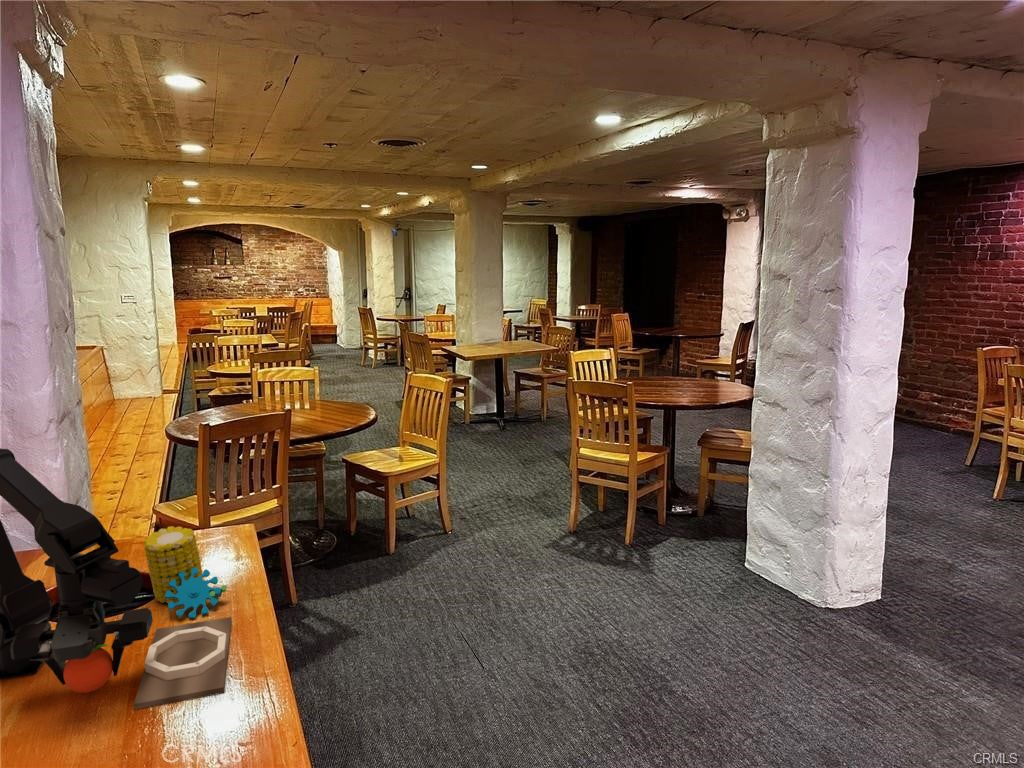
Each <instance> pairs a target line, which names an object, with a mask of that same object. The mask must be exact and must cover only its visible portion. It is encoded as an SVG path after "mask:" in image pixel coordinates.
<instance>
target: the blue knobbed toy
mask: <svg viewBox="0 0 1024 768" xmlns="http://www.w3.org/2000/svg"><path fill="white" fill-rule="evenodd" d="M197 573H198V569H197V568H192V569H191V576H190V578H189V579H188V580H184V577H185V576H186V572H185V571H183V572H180V573H179V575H178V576H179V578H180V579H181V581H182V585H181V586H177V585H176V580H174V579H173V580H171V581H170V582H169V586H170V587H173V588H175V589H176V590H177V592H178V593H177V594H176V595H174V594H172V592H171V591H167V592H166V594H165V598H167V599H168V598H176V599H178V600H179V602H178V603H175V602H169V603H167V607H168V610H169V611H172V610H173V609H175V608H176V607H181V606H183V607H184V608H182V609H178V610H176V612H175V614H176V616H177V617H179V618H182V617H183V616H184V615H185V612H186V611H187V610H189V609H191V608H192V609H193V610H192V611H190V612H189V613H188V618H189V619H192V620H194V619H196V617H197V610H198V608H199V607H200V606H201V607H202V609H201V615H204V616H205V615H207V614H209V611H210V609H209V608H208V607H207V605H206V601H207V600H209V601H210V606H212V607H215V606H217V604H218V602H219V599H220V598H221V596H222V594H223V593H225V592H226V591H227V588H228V587H227V585H225V584H222V585H221V587H220V586H218V587H217V586H216V587H211V586H210V585H209V584H212V585H218V582H219V579H218V577H217V576H213V577H212V578H210V579H209V580H205V579H204V578H207V577H210V575H211V572H210V570H208V569H207V568H205V569H204V570H203V571H202V575H201V576H200V577H198V578H194V577H193V576H194V575H196V574H197ZM202 578H203V579H204V580H202Z"/></svg>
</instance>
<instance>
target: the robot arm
mask: <svg viewBox="0 0 1024 768" xmlns="http://www.w3.org/2000/svg"><path fill="white" fill-rule="evenodd" d="M0 497H1V498H2V499H3V500H5V501H6V502H7V503H8V504H9V505H10V506H11V507H12V508H14V510H15V511H17V512H18V513H19V514H20V515H21V516H22V517H23V518H24V519H26V520H27V521H28V522H29V523H30V524H31V526H32V527H33V529H34V540H35V542H36V543H37V544H38V546H39V547H40V548H41V549H42V551H43V552H44V553H45V555H46V556H47V557H48V558H47V559H46V560H44V562H43V563H44V566H46V567H50V568H53V569H54V575H55V584H56V590H57V598H58V604H59V606H58V609H57V621H56V625H55V629H52V624H51V623H50V619H51V618H50V617H51V613H52V612H51V611H52V606H53V605H52V598H51V597H50V596H49V594H48V591H47V590H46V585H45V582H44V581H43V580H41V579H37V580H34V579H32V578H30V576H28V575H25V574H24V571H23V570H22V566H21V565H20V562H19V559H18V557H17V555H16V552H15V551H14V548H13V545H12V543H11V541H10V539H9V537H8V534H7V531H6V529H5V527H4V524H3V522H2V519H1V518H0V681H1V680H8V679H14V678H19V677H21V678H22V677H26V676H32V675H36V674H37V673H38V672H39V669H40V668H41V666H42V664H44V663H45V664H46V666H47V667H48V668H49V669H50V670H51V672H53V673H54V675H55V677H56V678H57V679H58V680H59V682H60V683H61V685H62V686H64V685H66V684H65V681H64V677H63V672H64V668H65V665H66V663H67V661H68V660H72V659H83V658H86V657H88V656H89V655H90V654H91V652H92V649H95V648H96V647H97V646H98V645H103V644H106V639H107V636H108V635H111V634H114V635H113V636H114V638H113V641H112V644H111V646H110V647H111V650H112V660H113V671H112V674H113V677H116V676H117V675H118V673H119V669H120V666H121V662H122V658H123V654H124V650H125V648H126V647H128V646H131V645H132V644H133V643H134V642H136V641H142V640H143V641H144V639H146V638H149V637H148V636H149V634H150V630H151V627H152V625H153V621H154V620H153V612H152V610H150V609H149V608H148V607H143V608H138V609H137V608H136V609H129V610H125V611H124V612H123V614H122V617H121V618H118V619H117V620H111V621H105V616H106V612H105V611H106V609H104V606H103V605H104V604H103V603H106V604H111V605H114V606H119V607H123V606H127V605H129V604H131V603H132V602H133V601H135V599H136V598H137V597H138V595H139V594H140V592H141V589H142V586H143V576H142V574H141V572H140V571H139V569H137V568H135V567H132V566H130V562H129V560H127V559H124V558H123V559H121V558H120V559H117V558H111V556H113V555H115V554H117V553H119V548H118V547H117V545H116V544H115V539H114V538H113V537H112V536H111V535H110V534H109V532H108V531H107V530H106V528H105V527H104V526H103V524H102V522H101V520H99V518H98V517H96V515H94V514H93V513H92V512H90V511H88V510H87V509H85V508H84V507H82V506H81V505H77V504H75V503H74V504H73V503H69V502H66V501H65V502H64V501H63V500H61V499H60V498H58V497H57V496H56V495H55V494H54V493H53V492H52V491H51V490H49V488H47V487H46V486H45V485H44V484H43V483H42V482H41V481H39V480H38V478H36V477H35V476H34V475H33V474H31V472H29V470H27V469H26V468H25V467H24V466H23V465H21V464H20V463H19V461H17V460H16V457H15V454H14V452H12V451H11V450H10V449H8V448H0ZM96 545H97V546H99V547H97V548H95V549H92V550H90V551H88V552H86V553H85V554H84V553H83V552H84V551H86V550H88V549H90V548H93V547H95V546H96Z"/></svg>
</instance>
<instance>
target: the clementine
mask: <svg viewBox="0 0 1024 768" xmlns="http://www.w3.org/2000/svg"><path fill="white" fill-rule="evenodd" d="M111 646H112V644H107V643H104V644H103V645H98V646H97V647H96V648H95V649H92V652H91V654H90V655H89V656H88V657H86V658H83V659H72V660H66V665H65V668H64V672H63V677H64V681H65V685H66V686H67V687H68V688H69V689H70V690H71V691H73V692H76V693H81V694H86V693H92V692H94V691H96V690H98V689H99V688H101V687H103V686H104V685H105V684H106V683H107V682H108V680H109V679H110V678H111V677H112V674H113V656H112V655H111V654H110V653H109V651H108V650H106V649H104V648H103V647H111Z"/></svg>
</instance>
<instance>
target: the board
mask: <svg viewBox="0 0 1024 768" xmlns="http://www.w3.org/2000/svg"><path fill="white" fill-rule="evenodd" d="M232 620H233V619H232V616H229V617H223V618H216V619H209V620H203V621H195V622H192V623H191V622H190V623H186V624H185V623H184V624H178V625H173V626H166V627H164V626H163V627H160V628H156V629H155V632H154V635H153V639H152V643H151V645H153V644H154V643H156V642H158V641H159V640H161V639H163V638H165V637H166V636H168V635H170V634H172V633H173V632H176V631H180V630H186V629H193V628H199V627H205V626H207V627H210V628H212V629H215V630H218V631H221V632H223V633H226V637H227V645H226V653H225V658H224V659H222V660H221V661H219V662H218V663H216V664H215V665H213V666H212V667H210V668H209V669H207V670H206V671H204V672H203V673H201V674H199V675H194V676H188V677H183V678H177V679H171V680H164V679H162V678H159V677H157V676H155V675H152V674H150V673H147V672H146V671H145V668H144V669H143V673H142V675H141V676H142V677H141V679H140V683H139V684H138V685H139V686H138V689H137V693H136V696H135V700H134V703H133V707H134V709H133V710H134V711H135V710H140V709H145V708H151V707H156V706H162V705H166V704H171V703H176V702H182V701H187V700H192V699H193V700H194V699H198V698H202V697H203V698H204V697H208V696H213V695H218V694H224V693H225V688H226V686H225V685H226V679H227V678H226V677H227V667H228V659H229V650H230V642H231V641H230V639H231V631H232ZM217 646H218V643H215V642H212V641H210V640H207V639H204V638H201V639H195V640H189V641H183V642H178V643H176V644H175V645H173V646H171V647H170V648H168V649H166V650H165V651H163V652H161V653H160V654H158V656H157V659H156V662H159V663H161V664H164V665H166V666H168V667H173V666H178V665H184V664H190V663H195V662H198V661H200V660H201V659H203V658H204V657H206V656H207V655H209V654H210V653H212V652H214V651H215V650H217Z"/></svg>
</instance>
